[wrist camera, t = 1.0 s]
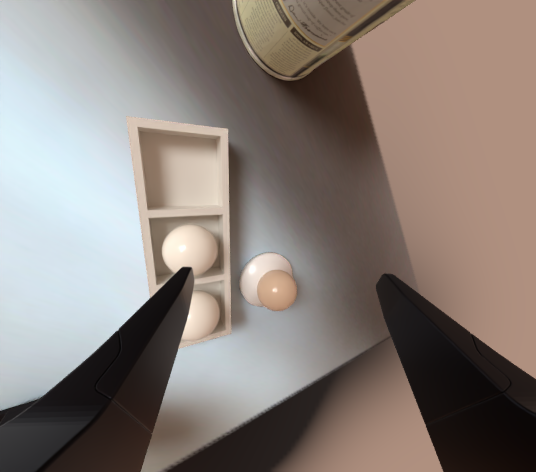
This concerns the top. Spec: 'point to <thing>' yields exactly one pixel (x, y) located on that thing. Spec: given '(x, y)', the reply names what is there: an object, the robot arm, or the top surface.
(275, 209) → the top surface
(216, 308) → the cream egg
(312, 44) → the coffee can
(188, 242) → the cream egg
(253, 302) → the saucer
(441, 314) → the robot arm
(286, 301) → the brown egg
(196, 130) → the carton
